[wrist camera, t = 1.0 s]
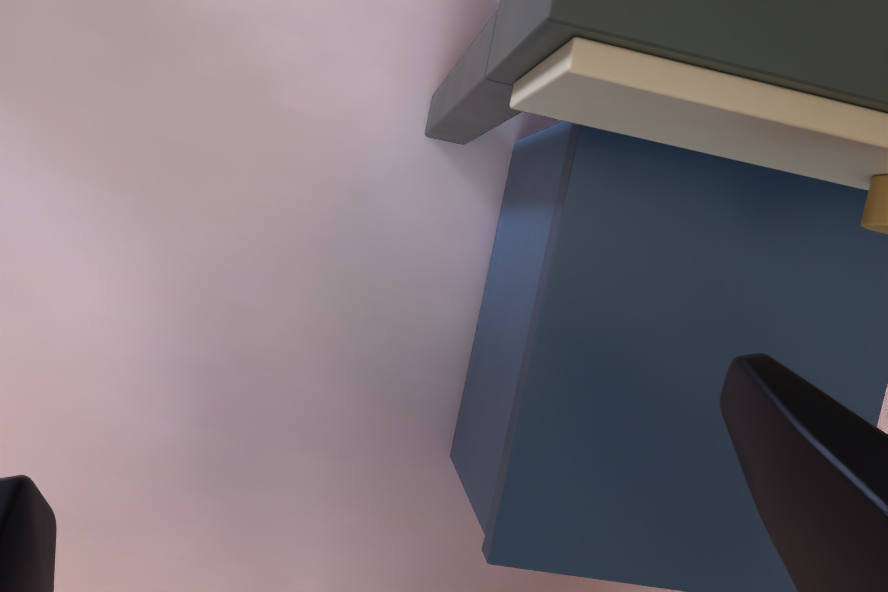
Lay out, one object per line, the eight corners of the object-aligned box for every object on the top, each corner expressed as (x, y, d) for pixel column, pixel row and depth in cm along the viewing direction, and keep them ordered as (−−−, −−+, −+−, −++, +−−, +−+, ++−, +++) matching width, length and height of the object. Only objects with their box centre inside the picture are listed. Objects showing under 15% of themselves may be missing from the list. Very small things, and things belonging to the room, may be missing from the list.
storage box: (693, 499, 28) (831, 612, 20) (444, 460, 27) (486, 564, 19) (765, 191, 27) (938, 183, 19) (511, 135, 26) (585, 100, 18)
